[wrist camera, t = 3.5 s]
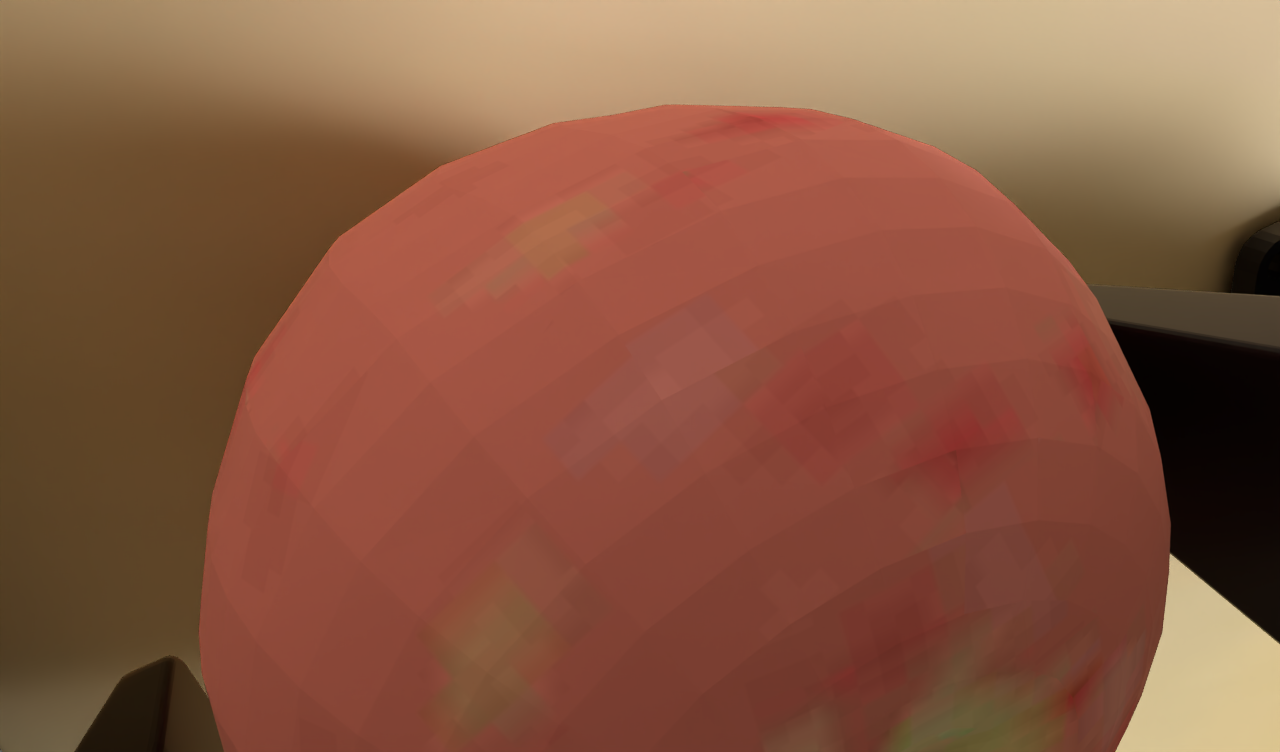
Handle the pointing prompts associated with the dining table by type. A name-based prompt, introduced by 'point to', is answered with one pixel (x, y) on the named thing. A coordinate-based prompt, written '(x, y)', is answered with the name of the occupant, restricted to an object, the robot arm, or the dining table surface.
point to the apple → (688, 463)
